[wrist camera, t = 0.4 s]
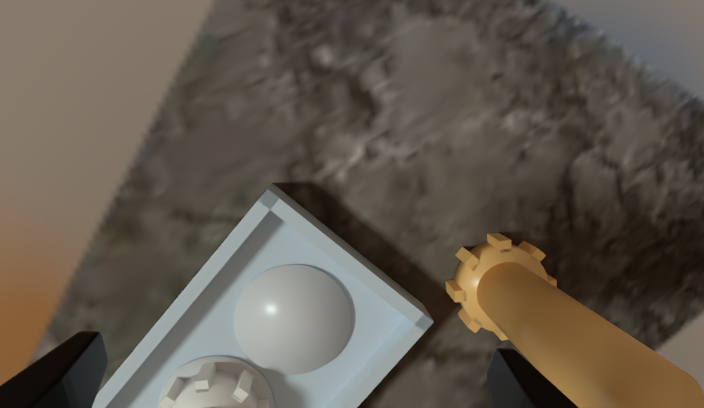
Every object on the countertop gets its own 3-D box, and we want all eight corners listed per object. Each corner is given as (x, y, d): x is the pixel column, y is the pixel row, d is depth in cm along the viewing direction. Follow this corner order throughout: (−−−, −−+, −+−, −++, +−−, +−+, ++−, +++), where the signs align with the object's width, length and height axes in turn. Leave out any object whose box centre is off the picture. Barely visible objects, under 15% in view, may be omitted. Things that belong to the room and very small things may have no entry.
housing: (244, 505, 28) (229, 583, 23) (86, 406, 26) (34, 469, 21) (423, 304, 27) (446, 342, 22) (272, 182, 25) (261, 195, 20)
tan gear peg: (495, 344, 28) (648, 528, 15) (425, 288, 27) (527, 433, 14) (560, 273, 27) (776, 400, 14) (492, 212, 26) (660, 291, 13)
